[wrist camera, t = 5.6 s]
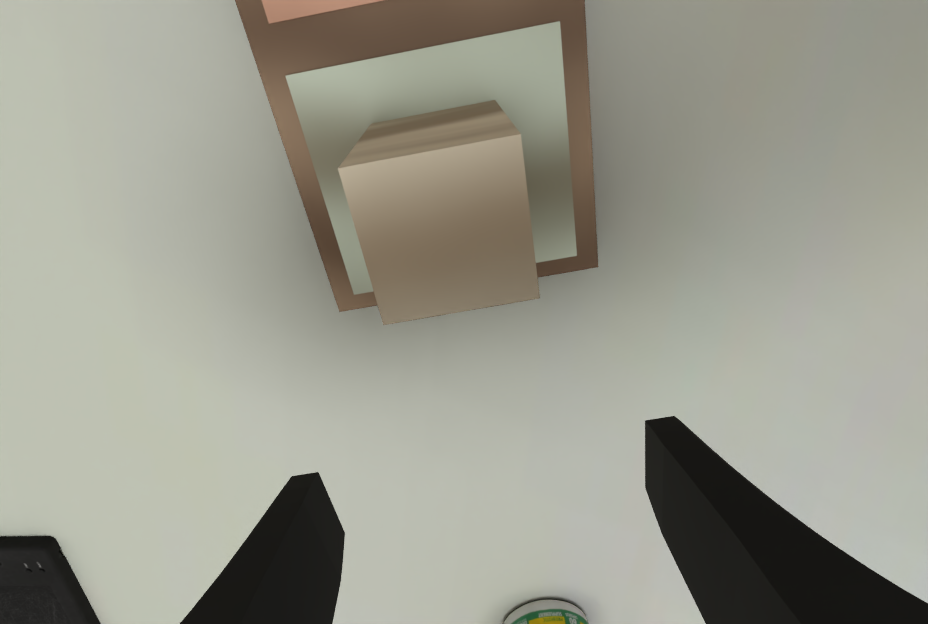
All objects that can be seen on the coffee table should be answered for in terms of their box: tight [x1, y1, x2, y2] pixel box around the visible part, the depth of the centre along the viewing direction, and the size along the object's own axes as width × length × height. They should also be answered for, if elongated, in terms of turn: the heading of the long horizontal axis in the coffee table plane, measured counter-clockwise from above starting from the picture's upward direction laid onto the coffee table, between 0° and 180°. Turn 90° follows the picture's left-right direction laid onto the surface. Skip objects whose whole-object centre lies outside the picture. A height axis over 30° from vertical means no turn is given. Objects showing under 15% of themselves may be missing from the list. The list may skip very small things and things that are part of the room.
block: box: [338, 100, 540, 325], centre depth 15 cm, size 4×4×6 cm
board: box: [235, 0, 598, 312], centre depth 16 cm, size 18×10×1 cm, turn 10°
